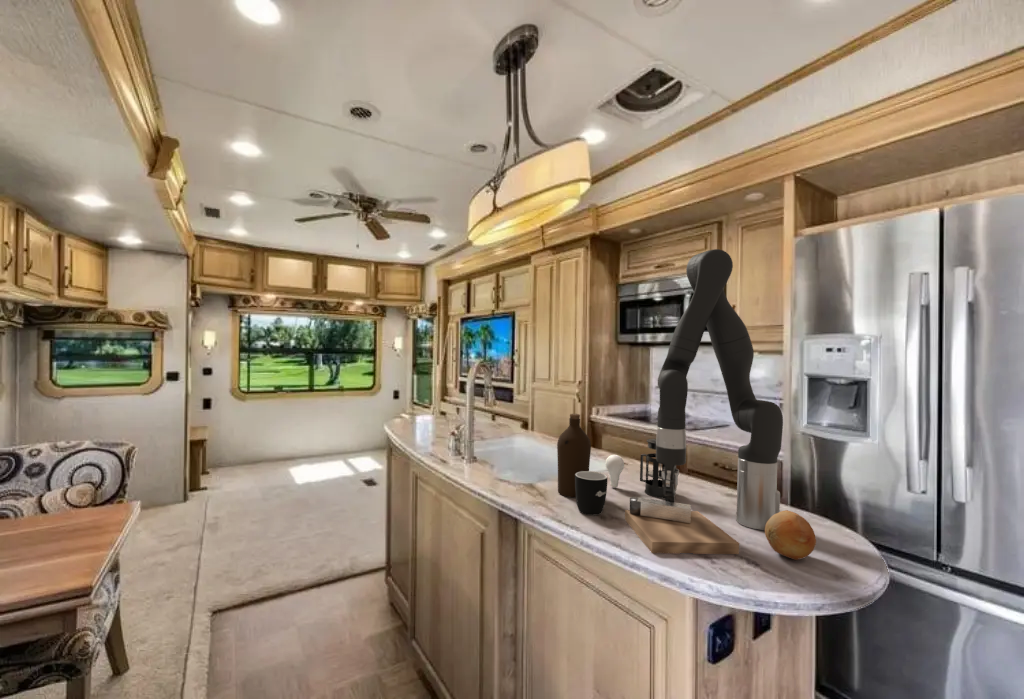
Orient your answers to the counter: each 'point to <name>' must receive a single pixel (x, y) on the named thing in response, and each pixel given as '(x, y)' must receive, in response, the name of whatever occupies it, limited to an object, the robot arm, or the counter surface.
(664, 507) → the hinged leg
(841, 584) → the counter surface
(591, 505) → the mug
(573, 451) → the olive oil
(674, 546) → the wooden cutting board
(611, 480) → the lightbulb
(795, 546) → the onion
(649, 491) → the french press
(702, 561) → the counter surface
